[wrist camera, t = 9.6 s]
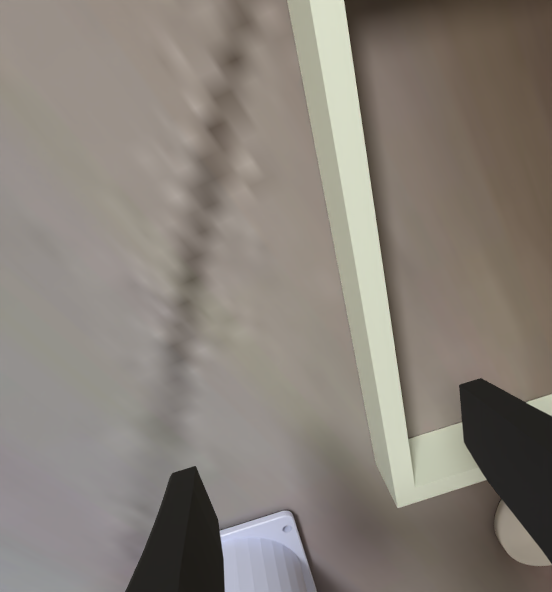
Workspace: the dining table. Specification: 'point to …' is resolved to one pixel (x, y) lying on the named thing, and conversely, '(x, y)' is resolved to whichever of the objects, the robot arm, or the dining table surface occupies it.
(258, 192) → the dining table surface
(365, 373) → the rectangular frame
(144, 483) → the dining table surface
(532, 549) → the saucer
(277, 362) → the dining table surface
